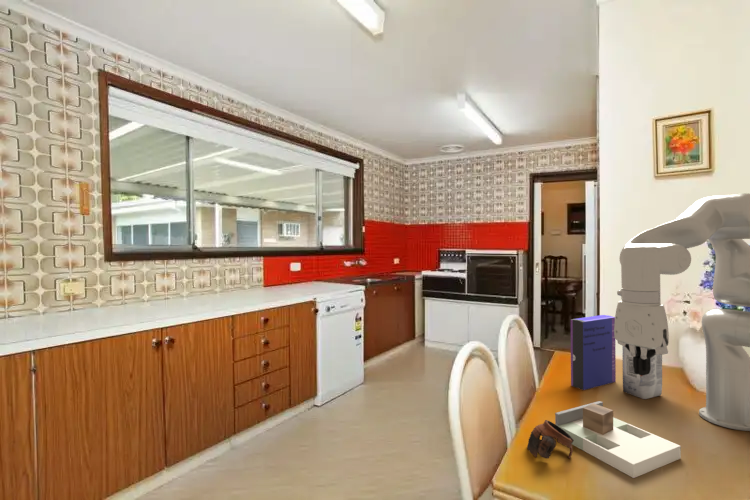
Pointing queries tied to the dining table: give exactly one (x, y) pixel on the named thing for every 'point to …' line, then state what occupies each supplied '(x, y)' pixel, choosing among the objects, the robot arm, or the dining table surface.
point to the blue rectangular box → (592, 352)
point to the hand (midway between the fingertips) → (641, 373)
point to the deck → (619, 443)
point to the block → (598, 418)
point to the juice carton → (642, 377)
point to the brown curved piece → (548, 439)
